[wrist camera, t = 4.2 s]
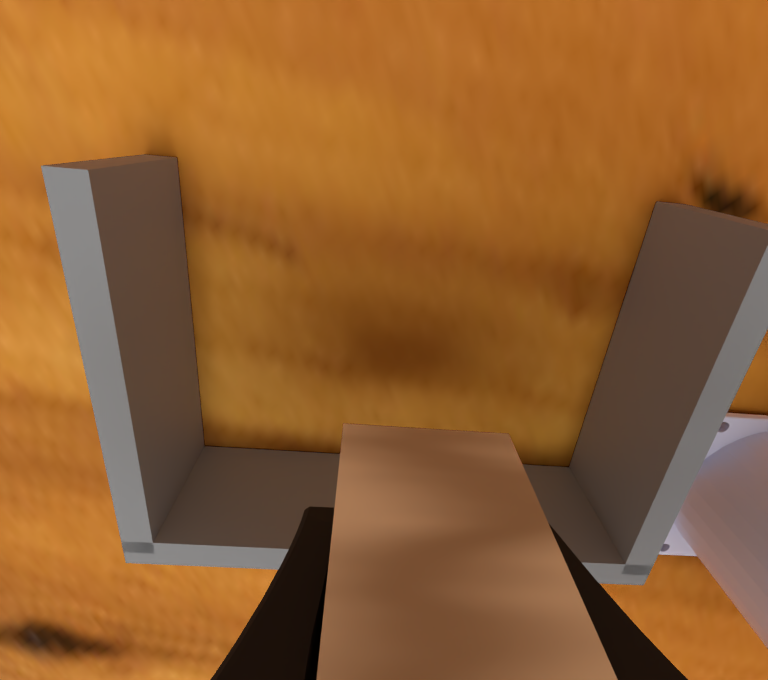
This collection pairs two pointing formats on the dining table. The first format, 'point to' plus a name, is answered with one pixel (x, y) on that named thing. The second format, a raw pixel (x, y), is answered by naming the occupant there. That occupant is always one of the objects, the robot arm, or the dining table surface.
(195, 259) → the dining table surface
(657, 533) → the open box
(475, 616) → the birch block
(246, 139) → the dining table surface
